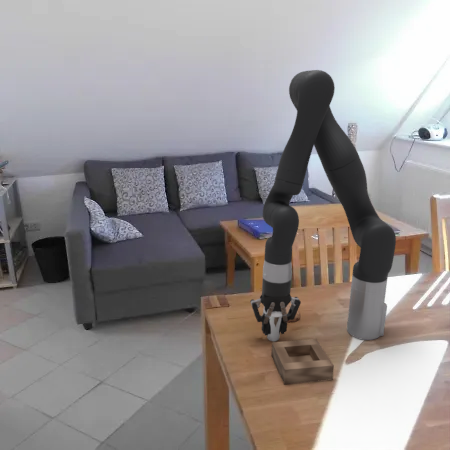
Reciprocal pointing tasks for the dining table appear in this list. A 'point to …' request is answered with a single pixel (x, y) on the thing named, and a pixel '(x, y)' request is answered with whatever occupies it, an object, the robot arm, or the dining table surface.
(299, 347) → the socket block
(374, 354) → the dining table surface
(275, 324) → the milkshake
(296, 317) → the cookie
